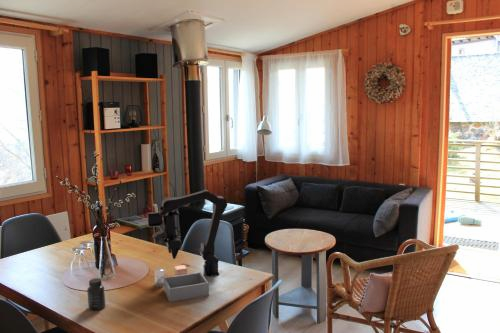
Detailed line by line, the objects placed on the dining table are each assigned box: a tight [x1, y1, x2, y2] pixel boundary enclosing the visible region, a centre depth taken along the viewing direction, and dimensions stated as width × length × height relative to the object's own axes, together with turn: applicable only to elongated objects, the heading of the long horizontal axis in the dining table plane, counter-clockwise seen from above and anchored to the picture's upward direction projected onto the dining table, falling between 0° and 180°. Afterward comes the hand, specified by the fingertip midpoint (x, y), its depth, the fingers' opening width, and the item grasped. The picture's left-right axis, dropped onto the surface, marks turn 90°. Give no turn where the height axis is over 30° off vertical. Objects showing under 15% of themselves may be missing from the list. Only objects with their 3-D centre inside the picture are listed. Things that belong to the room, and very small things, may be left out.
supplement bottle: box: [86, 277, 106, 312], centre depth 185 cm, size 7×7×12 cm
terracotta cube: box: [174, 264, 188, 276], centre depth 217 cm, size 5×5×5 cm
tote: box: [162, 271, 210, 303], centre depth 199 cm, size 18×14×6 cm
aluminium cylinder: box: [153, 267, 167, 287], centre depth 208 cm, size 5×5×7 cm
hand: (172, 255), depth 213 cm, fingers open, 9 cm apart
